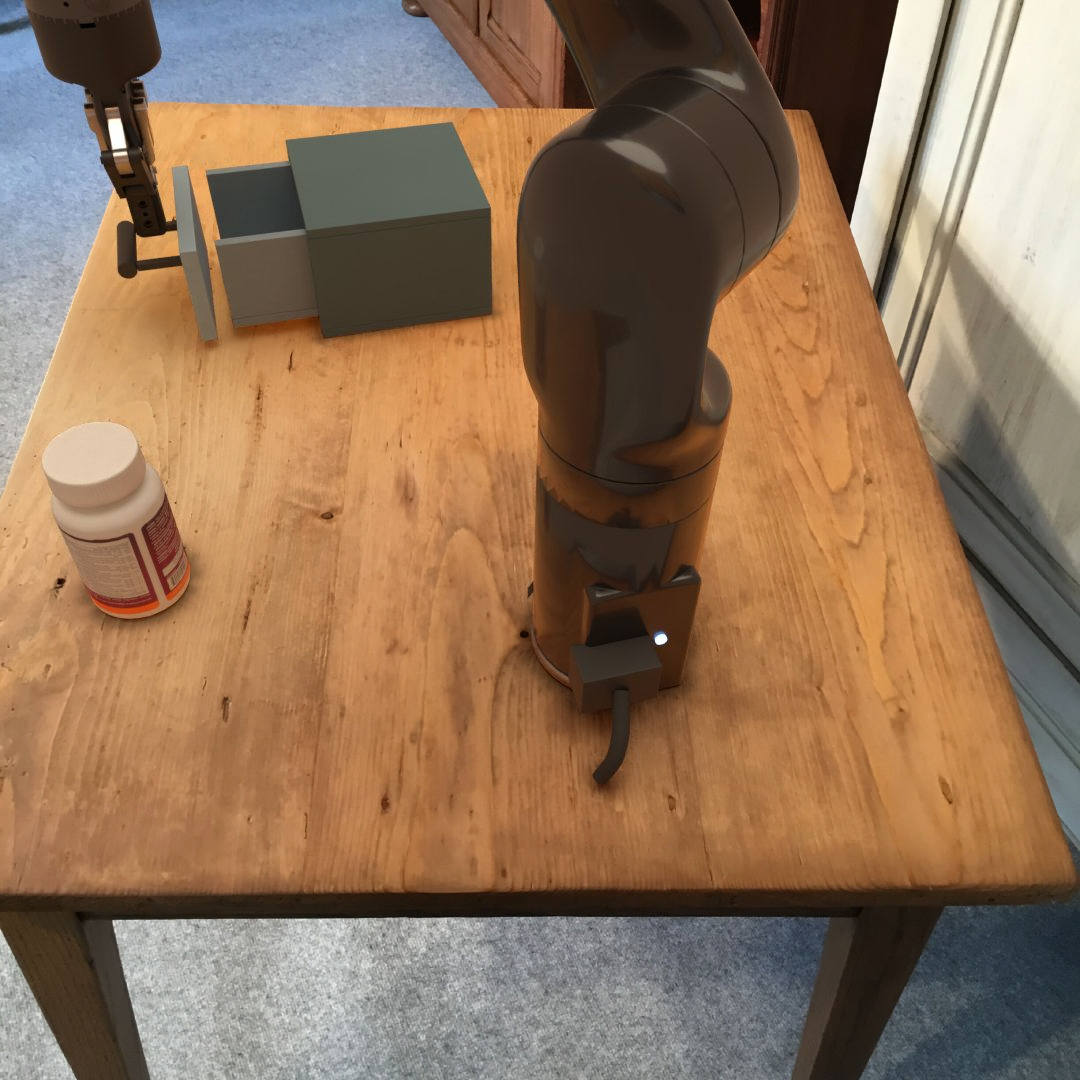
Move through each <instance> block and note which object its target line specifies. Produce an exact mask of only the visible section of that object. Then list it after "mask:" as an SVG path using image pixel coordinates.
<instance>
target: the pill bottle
mask: <svg viewBox="0 0 1080 1080" xmlns="http://www.w3.org/2000/svg"><path fill="white" fill-rule="evenodd" d="M41 468H42V472H43V474H44V477H45V478H46V481H47V483H48V487H49V488H50V489H49V490H50V491H51V496H50V508H51V509H50V510H51V514H52V515H53V519H54V521H55V524H56V525H57V528H58V530H59V532H60V534H61V536H62V539H63V540H64V543H65V545H66V547H67V550H68V551H69V554H70V555H71V558H72V560H73V562H74V564H75V566H76V569H77V571H78V573H79V577H80V578H81V580H82V582H83V585H84V588H85V590H86V591H87V593H88V595H89V597H90V599H91V602H93V603H94V605H95V606H96V607H97V608H98V609H99V610H100V611H102V612H103V613H105V614H106V615H109V616H112V617H114V618H120V619H140V618H146V617H150V616H153V615H155V614H158V613H161V612H163V611H164V610H166V609H167V608H169V607H171V606H172V605H174V604H175V603H176V602H177V601H178V600H179V599H180V598H181V597H182V596H183V594H184V593H185V592H186V589H187V588H188V586H189V582H190V579H191V565H190V561H189V558H188V554H187V551H186V549H185V546H184V543H183V540H182V536H181V533H180V530H179V527H178V525H177V522H176V518H175V516H174V512H173V509H172V506H171V505H170V504H171V503H170V501H169V499H168V495H167V493H166V489H165V485H164V483H163V481H162V478H161V476H160V474H159V472H158V471H157V470H156V468H155V467H154V466H153V465H151V463H149V462H148V461H146V460H145V455H144V453H143V452H142V449H141V445H140V443H139V440H138V438H137V436H136V434H135V433H134V432H133V431H132V430H131V429H130V428H127V426H124V425H122V424H119V423H116V422H111V421H90V422H85V423H82V424H81V423H80V424H77V425H74V426H72V427H70V428H68V429H67V428H66V430H64V431H62V432H60V433H58V435H56V436H55V437H53V439H51V440H50V442H49V443H48V444H47V445H46V447H45V449H44V451H43V452H42V455H41Z"/></svg>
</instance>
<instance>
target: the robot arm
mask: <svg viewBox="0 0 1080 1080" xmlns="http://www.w3.org/2000/svg"><path fill="white" fill-rule="evenodd" d="M542 1H543V3H544V4H545V6H546V8H547V9H548V11H549V13H550V15H551V17H552V19H553V20H554V22H555V23H556V25H557V27H558V30H559V31H560V33H561V35H562V38H563V40H564V41H565V43H566V45H567V47H568V50H569V51H570V53H571V55H572V59H573V60H574V62H575V64H576V66H577V68H578V70H579V73H580V76H581V78H582V80H583V83H584V86H585V88H586V91H587V92H588V95H589V98H590V101H591V103H592V106H593V110H591V111H589V112H588V113H587V114H585V115H583V116H581V117H580V118H578V119H577V120H575V121H574V122H573V123H571V124H570V125H568V126H567V127H565V128H564V129H563V130H561V131H560V132H558V133H556V135H554V136H552V138H550V139H549V140H547V142H546V143H545V144H544V145H543V146H542V147H541V148H540V149H539V150H538V152H537V153H536V154H535V156H534V157H533V158H532V160H531V162H530V164H529V166H528V169H527V171H526V174H525V176H524V179H523V181H522V182H523V183H522V187H521V190H520V195H519V200H518V207H517V214H516V215H517V216H516V236H515V237H516V238H515V239H516V268H517V269H516V271H517V289H518V306H519V307H518V308H519V326H520V328H519V330H520V348H521V356H522V363H523V368H524V371H525V375H526V377H527V382H528V383H529V386H530V389H531V390H532V392H533V395H534V397H535V400H536V402H537V442H536V443H537V445H536V446H537V447H536V448H537V449H536V468H535V469H536V471H535V508H534V541H533V542H534V543H533V544H534V546H533V579H532V582H531V583H530V584H529V585H528V586H527V590H526V591H527V595H526V597H527V600H529V598H530V597H531V596H532V597H533V598H532V613H531V617H530V639H531V645H532V648H533V651H534V653H535V656H536V657H537V660H538V661H539V663H540V664H541V665H542V667H543V668H544V669H545V670H546V672H548V674H549V675H551V676H552V677H553V678H554V679H555V680H556V681H558V682H559V683H561V684H562V685H564V686H566V687H567V688H569V689H571V690H572V694H573V696H574V698H575V702H576V704H577V707H578V710H579V713H580V714H581V715H584V714H588V713H593V712H598V711H603V710H607V709H611V733H610V734H611V735H610V740H609V746H608V749H607V753H606V755H605V757H604V759H603V760H602V761H601V762H600V763H599V765H598V766H597V767H596V768H595V769H594V771H593V772H592V774H591V775H592V780H593V781H594V782H595V783H597V784H598V785H601V786H604V785H607V784H608V783H609V782H610V780H612V778H613V776H614V775H615V774H616V773H617V772H618V770H619V769H620V768H621V766H622V765H623V762H624V760H625V758H626V754H627V751H628V748H629V742H630V731H631V704H635V703H639V702H644V701H648V700H653V699H656V698H657V697H658V694H659V690H661V689H667V688H670V687H675V686H678V685H680V684H682V682H683V677H684V672H685V667H686V662H687V657H688V653H689V647H690V644H691V639H692V632H693V627H694V624H695V618H696V613H697V608H698V603H699V599H700V593H701V590H702V589H701V588H702V585H703V584H702V583H703V581H702V576H701V575H700V568H701V562H702V558H703V552H704V547H705V543H706V537H707V531H708V526H709V522H710V517H711V511H712V507H713V506H712V505H713V501H714V495H715V491H716V485H717V480H718V477H719V472H720V466H721V463H722V462H721V461H722V456H723V450H724V446H725V441H726V437H727V433H728V429H729V422H730V418H731V413H732V406H733V386H732V380H731V378H730V375H729V372H728V370H727V368H726V366H725V364H724V362H722V360H721V359H720V358H719V356H718V355H717V354H716V353H715V352H714V351H713V350H712V349H711V348H709V340H710V334H711V333H710V332H711V327H712V323H713V320H714V319H713V318H714V315H715V311H716V309H717V306H718V305H719V304H720V303H721V302H722V301H723V300H724V299H726V297H727V296H728V295H730V293H732V292H733V290H735V289H736V288H737V287H738V286H739V285H740V284H741V283H742V282H743V281H744V280H745V279H746V278H747V277H748V276H749V275H750V274H751V273H753V271H754V270H756V268H757V267H759V266H760V264H761V263H763V261H765V259H766V258H767V257H768V256H769V255H770V254H771V253H772V252H773V251H774V250H775V249H776V248H777V246H778V245H779V244H780V243H781V241H782V240H783V239H784V237H785V236H786V235H787V232H788V231H789V228H790V226H791V225H792V223H793V221H794V218H795V216H796V213H797V209H798V205H799V199H800V192H801V171H800V161H799V156H798V151H797V147H796V143H795V139H794V136H793V132H792V130H791V127H790V124H789V122H788V119H787V116H786V114H785V111H784V109H783V107H782V104H781V102H780V100H779V97H778V96H777V93H776V91H775V89H774V87H773V85H772V83H771V81H770V79H769V77H768V75H767V73H766V71H765V69H764V67H763V65H762V63H761V62H760V59H759V57H758V55H757V53H756V52H755V50H754V48H753V46H752V44H751V42H750V40H749V38H748V36H747V35H746V33H745V30H744V28H743V27H742V25H741V23H740V21H739V19H738V17H737V16H736V14H735V12H734V10H733V8H732V6H731V4H730V2H729V1H728V0H542ZM23 3H24V6H25V9H26V12H27V15H28V19H29V21H30V23H31V28H32V30H33V35H34V37H35V40H36V43H37V46H38V48H39V52H40V56H41V58H42V62H43V65H44V67H45V69H46V70H47V72H48V73H49V74H50V75H51V76H52V77H54V78H55V79H57V80H59V81H61V82H63V83H66V84H69V85H77V86H81V87H83V90H84V96H85V100H86V102H83V110H84V115H85V117H86V120H87V124H88V127H89V129H90V131H91V132H93V133H94V134H95V136H96V137H95V138H96V140H97V143H98V146H99V149H100V156H99V160H100V161H99V162H100V165H102V166H103V168H104V170H105V172H106V174H107V176H108V178H109V181H110V182H111V184H112V186H113V188H114V190H115V193H116V195H117V197H118V198H119V200H123V199H126V203H127V206H128V210H129V213H130V217H131V220H132V223H133V224H134V227H135V231H136V236H138V237H140V238H142V239H143V238H152V237H160V236H164V235H165V234H166V233H167V232H166V231H167V227H166V222H167V219H166V214H165V210H164V207H163V203H162V200H161V196H160V192H159V188H158V185H159V181H158V178H157V175H158V169H157V166H155V164H154V163H155V162H156V152H155V150H156V149H155V136H154V135H155V134H154V132H153V128H152V124H151V120H150V116H149V115H150V114H149V109H148V107H149V97H148V93H147V89H146V85H145V82H144V80H140V78H142V77H143V76H145V75H147V74H148V73H150V72H152V70H154V69H155V68H156V67H157V66H158V64H159V62H160V61H161V59H162V53H163V51H162V45H161V42H160V38H159V33H158V29H157V25H156V21H155V17H154V12H153V8H152V4H151V0H23Z"/></svg>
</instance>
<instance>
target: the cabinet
mask: <svg viewBox="0 0 1080 1080" xmlns="http://www.w3.org/2000/svg"><path fill="white" fill-rule="evenodd" d="M285 147H286V154H287V159H288V160H287V161H290V165H291V169H292V174H293V178H294V182H295V187H296V191H297V195H298V200H299V204H300V208H301V213H302V217H303V221H304V226H305V230H306V234H307V241H308V248H309V254H310V260H311V267H312V273H313V280H314V286H315V292H316V299H317V305H318V312H319V316H317V318H318V322H319V326H320V331H321V334H322V338H323V339H329V338H335V337H337V338H338V337H343V336H350V335H358V334H365V333H371V332H379V331H385V330H393V329H398V328H404V327H413V326H420V325H426V324H433V323H441V322H446V321H456V320H461V319H467V318H475V317H481V316H488V315H493V257H492V256H493V253H492V251H493V250H492V249H493V247H492V246H493V245H492V244H493V243H492V241H493V240H492V207H491V204H490V202H489V199H488V197H487V195H486V193H485V192H484V191H485V190H484V188H483V187H482V185H481V183H480V180H479V177H478V176H477V173H476V171H475V169H474V167H473V164H472V162H471V160H470V158H469V156H468V154H467V151H466V149H465V147H464V145H463V142H462V140H461V138H460V136H459V133H458V131H457V129H456V126H455V124H454V122H453V121H447V122H437V123H428V124H419V125H409V126H400V127H392V128H391V127H390V128H383V129H372V130H364V131H355V132H354V131H353V132H345V133H337V134H335V133H334V134H326V135H316V136H308V137H298V138H291V139H289V138H288V139H285Z"/></svg>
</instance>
